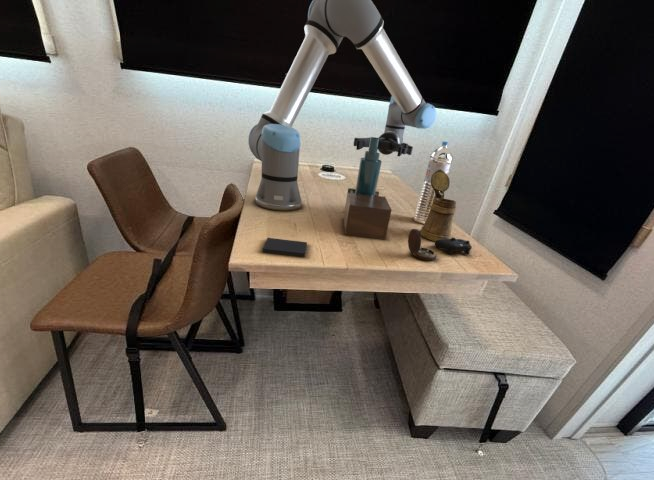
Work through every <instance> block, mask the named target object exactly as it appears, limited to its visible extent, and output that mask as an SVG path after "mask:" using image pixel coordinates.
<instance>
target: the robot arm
mask: <svg viewBox="0 0 654 480" xmlns="http://www.w3.org/2000/svg"><path fill="white" fill-rule="evenodd" d="M384 24H385V23H384V19H383V17H382V15H381V13H380V12H379V10H378V9H377V6H376V5H375V4H374V2H373V1H372V0H312V1H311V3H310V5H309V8H308V12H307V21H306V23H305V24H304V27H303V29H304V34H305V35H304V39H303V41H302V43H301V45H300V47H299V49H298V51H297V54H296V56H295V57H294V59H293V61H292V64H291V66H290V68H289V70H288V72H287V74H286V76H285V78H284V80H283V81H282V84H281V86H280V89H279V90H278V92H277V94H276V96H275V99H274V101H273V103H272V104H271V107H270V109H269V110H268V111H265V112H263V113H262V114H261V116H260V119H259V121H258V123H256V124H255V125H254V126H253V127H252V128H251V129H250V130H249V133H248V137H247V144H248V148H249V150H250V152H251V153H252V155H253V157H255V159H257V160H258V161H260V162H261V179H260V183H259V185H258V188H257V191H256V194H255V204H256V205H257V206H258V207H261V208H263V209H266V210H271V211H281V212H282V211H284V212H285V211H287V212H289V211H294V210H298V209H300V208H301V206H302V197H301V193H300V190H299V184H298V174H299V165H300V164H299V163H300V151H301V150H300V149H301V134H300V131H298V129H296V128H294V127H293V125H294V123H295V121H296V119H297V117H298V116H299V113H300V112H301V109H302V108H303V105H304V104H305V102H306V100H307V98H308V96H309V94H310V92H311V90H312V88H313V86H314V84H315V82H316V80H317V79H318V76H319V74H320V72H321V71H322V69H323V66H324V65H325V63H326V61H327V59H328V57H329V55H334V54H335V53H337V50H338V49H339V46H340V44H341V43H342V41H343V38H345V37H346V38H347V39H348V40H350V42H351V43H352V44H353V45H354V47H355V48H356V50H362V52H363V53H364V55H365V56H366V59H368V61H369V63H370V64H371V65H372V67H373V69H374V70H375V72H376V73H377V75H378V77H379V78H380V80H381V81H382V82H383V84H384V86H385V87H386V89H387V90H388V92H389V93H390V95H391V96H390V99H389V100H390V101H389V104H388V110H387V114H386V115H387V117H386V121H385V127H384V132H383V133H382V134H381V135H379V137H378V138H379V144H378V149H377V151H378V153H379V154H382V155H384V156H388V155H392V154H393V153H395V152H396V153H397V156H396V157H401V156H402V155H408V156H411V155H412V153H413V150H414V149H413V148H414V146H412V145H409V143H406V142H404V132H405V129H406V126H407V127H412V128H415V129H418V130H419V129H423V130H425V129H429V128H431V126H433V124H434V122H435V121H436V118H437V109H436V107H435V106H434V105H433V104H430V103H428V102H426V101H425V99H424V98H423V96H422V94H421V93H420V90H419V89H418V87H417V86H416V84H415V82H414V80H413V78H412V77H411V75H410V73H409V71H408V69H407V68H406V67H405V64H404V63H403V61H402V59H401V58H400V55H399V54H398V52H397V50H396V49H395V47H394V44H393V43H392V42H391V40H390V38H389V36H388V34H387V33H386V30H385V29H384ZM371 137H372V136H370V137H354V139H353V145H352V146H354V147H355V148H356V149H355V150H356V151H359V150H361V149H364V148H369V144H370V138H371Z"/></svg>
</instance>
